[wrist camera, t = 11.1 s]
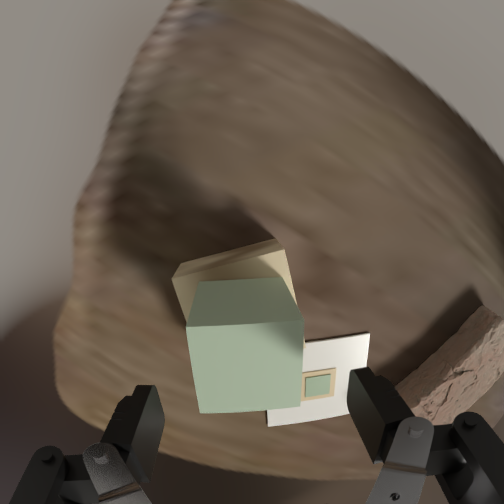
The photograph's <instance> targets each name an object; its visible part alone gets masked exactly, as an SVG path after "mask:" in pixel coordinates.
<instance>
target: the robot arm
mask: <svg viewBox="0 0 504 504" xmlns="http://www.w3.org/2000/svg"><path fill="white" fill-rule="evenodd" d="M347 407H348V411H349V413H350V415H351V417H352V419H353V421H354V424H355V426H356V428H357V430H358V432H359V434H360V436H361V438H362V441H363V443H364V445H365V447H366V449H367V451H368V453H369V456H370V458H371V460H372V462H373V464H376V463H380V462H383V463H384V465H383V467H382V469H381V471H380V474H379V476H378V478H377V481H376V483H375V485H374V487H373V490H372V491H371V494H370V496H369V498H368V500H367V502H366V504H417V503H418V500H419V497H420V494H421V491H422V488H423V484H424V480H425V477H426V476H429V475H435V477H436V479H437V481H438V483H439V485H440V486H441V488H442V491H443V492H444V494H445V496H446V498H447V500H448V502H449V504H504V444H503V442H502V441H501V440H500V438H499V437H498V436H497V435H496V433H495V432H494V431H493V429H492V428H491V427H490V426H489V424H488V423H487V422H486V421H485V420H484V418H483V417H482V416H481V415H479V414H477V413H474V412H463V413H460V414H459V415H457V416H456V417H455V419H454V421H453V424H444V425H433V424H432V423H431V422H430V421H429V420H427V419H425V418H423V417H416V416H415V415H414V414H413V412H412V411H411V409H410V408H409V407H408V405H407V404H406V402H405V401H404V400H403V398H402V397H401V396H400V394H399V393H398V391H397V390H395V387H394V386H393V384H392V383H391V382H390V381H389V380H388V379H386V378H384V377H383V376H381V375H380V376H375V375H374V374H373V372H372V371H371V369H370V368H369V367H363V368H357V369H352V370H350V373H349V382H348V390H347ZM164 423H165V418H164V412H163V408H162V405H161V402H160V399H159V395H158V392H157V388H156V386H155V385H137V386H136V388H135V390H134V392H133V394H132V396H125V397H124V398H123V399H122V400H121V401H120V402H119V403H118V405H117V407H116V409H115V413H113V415H112V417H111V419H110V422H109V424H108V426H107V428H106V430H105V432H104V435H103V437H102V439H101V441H100V443H96V444H93V445H91V446H89V447H88V448H87V449H86V450H85V451H84V453H83V454H81V455H67V456H64V454H63V453H62V451H61V450H60V449H59V448H57V447H55V446H45V447H42V448H40V449H38V450H37V451H36V452H35V453H34V455H33V457H32V458H31V460H30V462H29V464H28V466H27V468H26V470H25V472H24V474H23V476H22V478H21V480H20V482H19V484H18V486H17V488H16V490H15V492H14V495H13V497H12V499H11V501H10V503H9V504H95V503H100V504H151V502H150V501H149V499H148V498H147V497H146V495H145V493H144V492H143V491H142V489H141V487H140V482H149V483H150V481H151V477H152V472H153V468H154V464H155V460H156V456H157V452H158V448H159V444H160V440H161V436H162V432H163V428H164Z"/></svg>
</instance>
